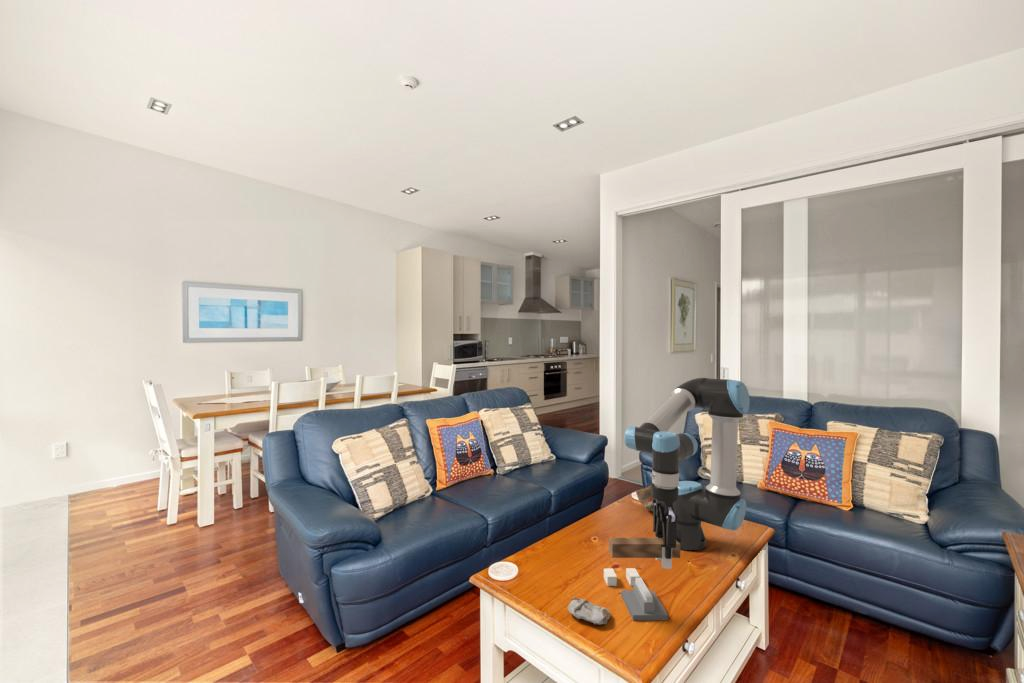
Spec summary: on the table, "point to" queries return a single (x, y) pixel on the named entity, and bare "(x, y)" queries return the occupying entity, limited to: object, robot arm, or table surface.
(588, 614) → the stone
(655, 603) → the fulcrum
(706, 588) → the table surface
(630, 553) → the bar
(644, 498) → the rock
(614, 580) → the blocks
